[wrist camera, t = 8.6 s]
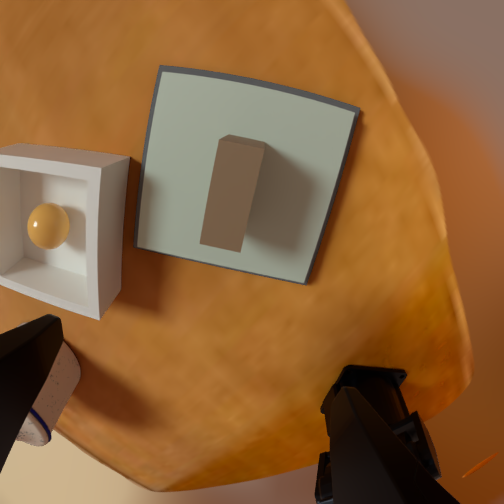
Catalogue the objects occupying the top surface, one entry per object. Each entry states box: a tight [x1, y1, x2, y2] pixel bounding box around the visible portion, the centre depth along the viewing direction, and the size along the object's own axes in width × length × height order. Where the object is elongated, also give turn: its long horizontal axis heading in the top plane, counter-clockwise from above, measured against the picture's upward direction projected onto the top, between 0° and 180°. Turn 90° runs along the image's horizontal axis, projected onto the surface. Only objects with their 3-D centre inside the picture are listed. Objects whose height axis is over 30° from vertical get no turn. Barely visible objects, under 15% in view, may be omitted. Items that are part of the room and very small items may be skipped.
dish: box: [0, 143, 130, 320], centre depth 18 cm, size 10×10×4 cm
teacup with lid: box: [16, 322, 81, 446], centre depth 22 cm, size 12×9×12 cm
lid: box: [137, 72, 355, 283], centre depth 16 cm, size 11×11×5 cm
